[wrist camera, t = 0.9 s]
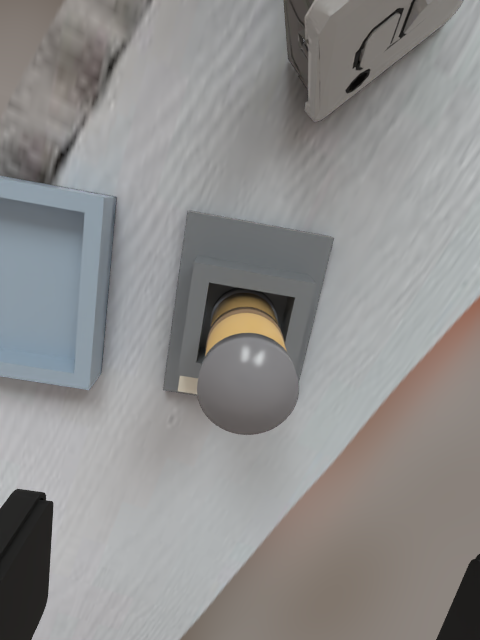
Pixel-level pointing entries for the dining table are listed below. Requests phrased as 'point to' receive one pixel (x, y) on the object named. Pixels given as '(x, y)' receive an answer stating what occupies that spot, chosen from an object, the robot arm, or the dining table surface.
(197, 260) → the grey square socket holder
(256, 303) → the fuse
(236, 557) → the dining table surface
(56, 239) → the tray
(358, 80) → the electrical switch
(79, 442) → the dining table surface
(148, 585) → the dining table surface
